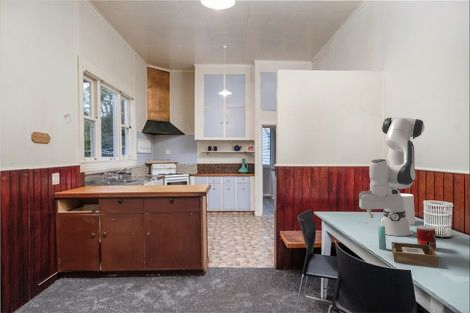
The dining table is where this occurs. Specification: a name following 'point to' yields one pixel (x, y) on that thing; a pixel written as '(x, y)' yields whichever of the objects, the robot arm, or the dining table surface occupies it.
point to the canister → (409, 207)
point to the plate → (412, 250)
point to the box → (414, 254)
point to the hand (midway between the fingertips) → (380, 217)
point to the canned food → (426, 236)
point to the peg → (382, 237)
